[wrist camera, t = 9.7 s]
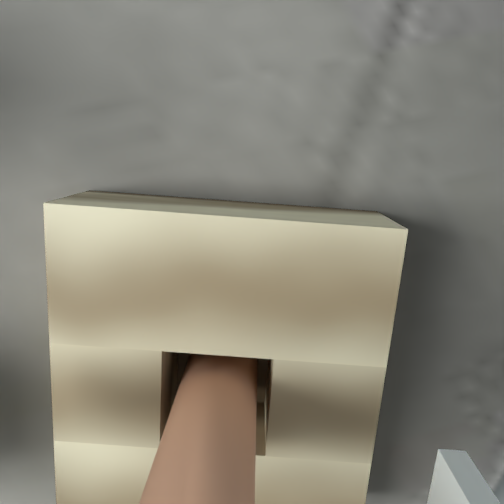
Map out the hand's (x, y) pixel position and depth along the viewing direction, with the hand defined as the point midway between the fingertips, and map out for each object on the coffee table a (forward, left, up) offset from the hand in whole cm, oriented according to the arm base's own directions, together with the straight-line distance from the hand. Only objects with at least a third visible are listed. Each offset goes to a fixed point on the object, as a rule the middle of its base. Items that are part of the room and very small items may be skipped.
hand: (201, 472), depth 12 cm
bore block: (0, 0, -8) cm, 8 cm away
